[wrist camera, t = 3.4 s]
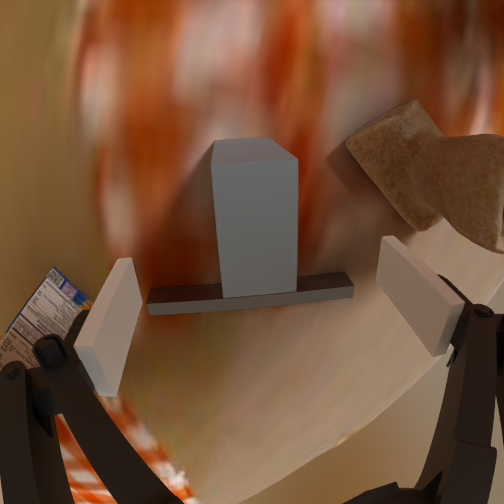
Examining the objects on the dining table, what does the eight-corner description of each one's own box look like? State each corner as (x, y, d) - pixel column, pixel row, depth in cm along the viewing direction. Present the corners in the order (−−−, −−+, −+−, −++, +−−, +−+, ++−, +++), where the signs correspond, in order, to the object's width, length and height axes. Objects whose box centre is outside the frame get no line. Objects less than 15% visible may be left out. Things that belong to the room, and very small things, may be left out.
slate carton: (214, 140, 28) (210, 164, 18) (271, 136, 29) (302, 159, 18) (221, 229, 32) (223, 297, 22) (273, 225, 33) (299, 291, 22)
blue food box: (96, 304, 35) (31, 464, 15) (56, 343, 37) (1, 475, 18) (54, 265, 32) (-42, 412, 13) (20, 311, 35) (-52, 436, 15)
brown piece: (472, 174, 32) (561, 220, 18) (410, 238, 35) (488, 310, 22) (411, 71, 26) (517, 73, 13) (335, 141, 29) (421, 179, 16)
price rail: (151, 288, 35) (146, 304, 32) (345, 271, 36) (354, 285, 33) (154, 301, 35) (149, 317, 33) (343, 284, 37) (352, 299, 34)
